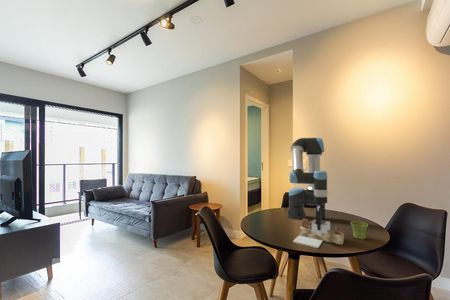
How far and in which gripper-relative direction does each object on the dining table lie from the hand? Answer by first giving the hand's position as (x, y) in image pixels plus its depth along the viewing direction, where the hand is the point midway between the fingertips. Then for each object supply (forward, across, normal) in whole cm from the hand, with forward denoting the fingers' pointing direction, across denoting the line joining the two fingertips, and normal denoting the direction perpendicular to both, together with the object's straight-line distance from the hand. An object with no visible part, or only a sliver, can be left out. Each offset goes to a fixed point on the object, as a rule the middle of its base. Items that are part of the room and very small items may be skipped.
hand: (320, 233), depth 135 cm
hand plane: (+3, 0, 0) cm, 3 cm away
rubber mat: (+3, -11, +5) cm, 12 cm away
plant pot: (+4, +15, -19) cm, 24 cm away
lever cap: (-2, 0, 0) cm, 2 cm away
